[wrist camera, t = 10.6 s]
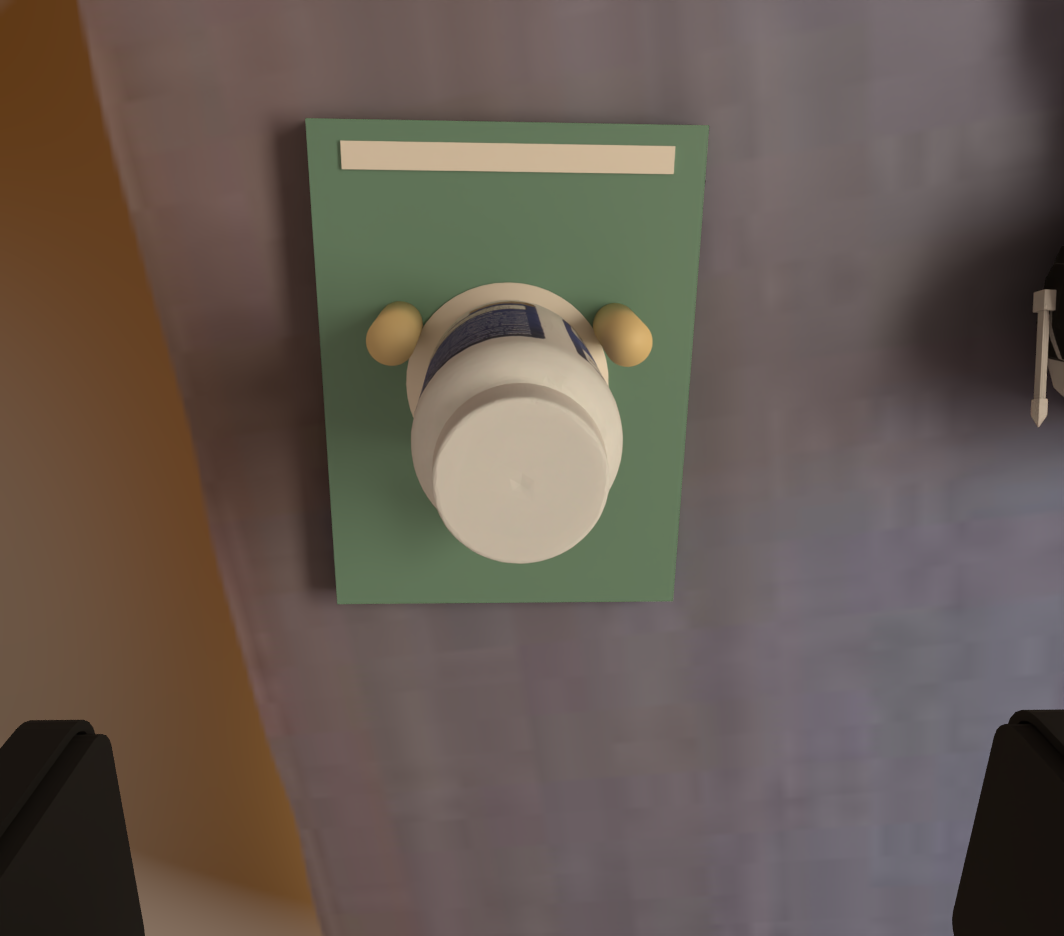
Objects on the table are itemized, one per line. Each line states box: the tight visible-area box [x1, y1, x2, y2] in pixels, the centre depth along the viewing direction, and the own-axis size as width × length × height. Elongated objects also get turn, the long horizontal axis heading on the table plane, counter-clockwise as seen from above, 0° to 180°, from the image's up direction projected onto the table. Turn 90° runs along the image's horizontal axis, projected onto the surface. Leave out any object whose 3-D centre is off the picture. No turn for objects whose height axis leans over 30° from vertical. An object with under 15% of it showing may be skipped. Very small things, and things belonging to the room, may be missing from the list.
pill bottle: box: [411, 300, 623, 564], centre depth 24 cm, size 5×5×10 cm
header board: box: [305, 118, 709, 604], centre depth 28 cm, size 16×12×4 cm
